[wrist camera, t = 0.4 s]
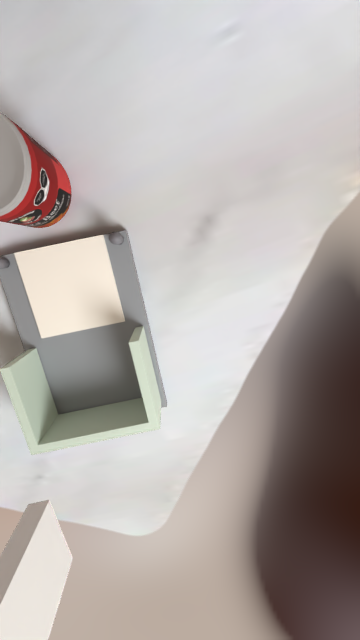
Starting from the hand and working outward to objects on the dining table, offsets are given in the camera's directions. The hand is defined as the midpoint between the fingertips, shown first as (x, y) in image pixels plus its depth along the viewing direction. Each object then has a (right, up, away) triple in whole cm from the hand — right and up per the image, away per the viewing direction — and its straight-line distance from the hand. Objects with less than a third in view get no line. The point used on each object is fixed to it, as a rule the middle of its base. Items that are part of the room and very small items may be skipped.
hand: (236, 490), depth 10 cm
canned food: (-18, +20, +22) cm, 35 cm away
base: (-13, +4, +25) cm, 29 cm away
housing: (-12, -1, +25) cm, 28 cm away
